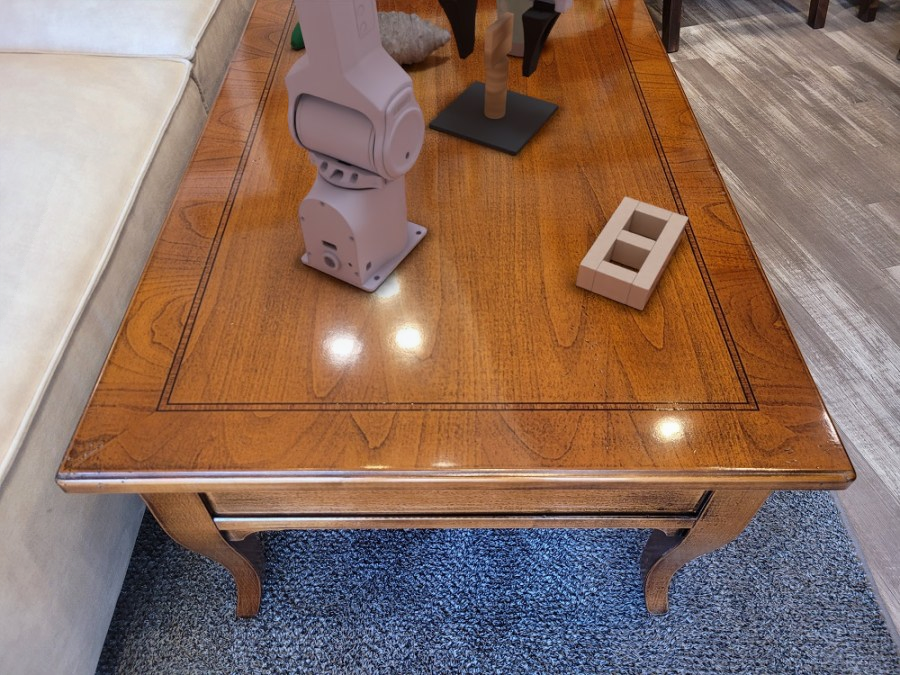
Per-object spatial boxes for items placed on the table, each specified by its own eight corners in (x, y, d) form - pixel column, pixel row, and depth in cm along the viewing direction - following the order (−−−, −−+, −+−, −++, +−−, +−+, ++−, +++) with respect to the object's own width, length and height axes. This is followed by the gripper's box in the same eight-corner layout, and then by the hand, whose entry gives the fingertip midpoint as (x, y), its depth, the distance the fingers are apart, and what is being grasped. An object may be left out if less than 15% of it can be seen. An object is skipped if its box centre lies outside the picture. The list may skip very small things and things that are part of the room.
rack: (681, 238, 64) (689, 216, 62) (642, 311, 58) (649, 290, 56) (619, 217, 66) (625, 195, 64) (575, 285, 60) (579, 264, 58)
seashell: (457, 50, 82) (429, -16, 77) (358, 98, 85) (325, 37, 80) (452, 37, 87) (426, -27, 82) (359, 82, 90) (328, 23, 85)
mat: (515, 156, 73) (516, 152, 72) (428, 127, 76) (428, 123, 76) (558, 108, 79) (558, 104, 79) (475, 84, 83) (475, 80, 82)
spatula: (494, 126, 76) (499, 33, 68) (475, 120, 76) (478, 27, 68) (513, 106, 78) (520, 14, 70) (495, 101, 79) (500, 9, 71)
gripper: (595, -77, 62) (574, 64, 73) (458, -103, 67) (457, 32, 77) (563, -52, 58) (546, 94, 69) (420, -82, 63) (425, 59, 73)
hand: (497, 63), depth 73 cm, fingers open, 7 cm apart
